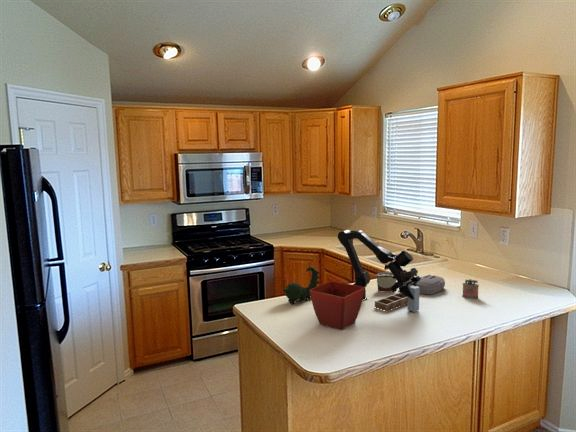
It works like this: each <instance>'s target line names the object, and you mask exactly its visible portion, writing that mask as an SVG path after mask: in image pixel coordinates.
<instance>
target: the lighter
mask: <svg viewBox="0 0 576 432" xmlns="http://www.w3.org/2000/svg"><path fill="white" fill-rule="evenodd" d="M478 281H479V280H476V279H471V278H470V279H465V281H464V282H463V283H462V294H461V295H462V296H461V297H462V298H467V299H474V300H478V299H479V286H480V285H479V284H478Z"/></svg>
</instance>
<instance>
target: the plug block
mask: <svg viewBox="0 0 576 432" xmlns="http://www.w3.org/2000/svg"><path fill="white" fill-rule="evenodd" d="M408 288H409V290H410V292H411V294H412V295H413V297H414V299H413V300H412V299H411V298H409V297H408V304H407V311H409V312H413V313H416V312H418V311H420V293H419V289H420V287H418V286H414V285H412V286H409V287H408Z"/></svg>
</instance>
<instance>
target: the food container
mask: <svg viewBox="0 0 576 432" xmlns="http://www.w3.org/2000/svg"><path fill="white" fill-rule="evenodd" d="M393 277H394V276H393V274H392V273H391V272H388V271H387V272H386V271H385V272H384V271H382V272H378V273H376V275H375V278H376V285H377V291H392V290H391V286H392V285H394V284H395V283H396V282H397V280H396V279H393Z"/></svg>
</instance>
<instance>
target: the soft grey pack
mask: <svg viewBox="0 0 576 432" xmlns="http://www.w3.org/2000/svg"><path fill="white" fill-rule="evenodd" d="M419 277H420V278H421V280H420V281H418V282H417V284H416V286H418V287H420V289H419V294H423V295H433V294H437V293H439V292H441V291H442V290H443V289H444V288H445V285H446V282H445V279H444V277H441V276H438V275H433V274H432V275H431V274H428V275H424V276H419Z"/></svg>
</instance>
